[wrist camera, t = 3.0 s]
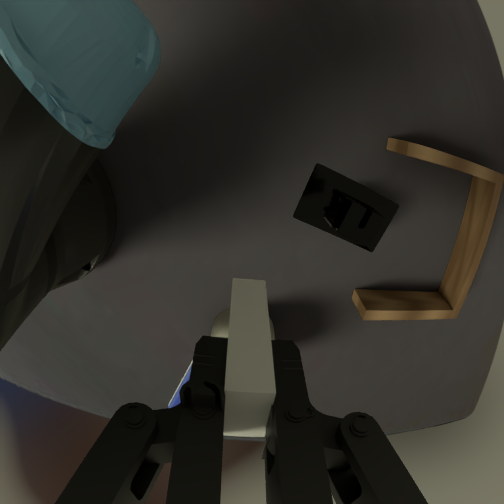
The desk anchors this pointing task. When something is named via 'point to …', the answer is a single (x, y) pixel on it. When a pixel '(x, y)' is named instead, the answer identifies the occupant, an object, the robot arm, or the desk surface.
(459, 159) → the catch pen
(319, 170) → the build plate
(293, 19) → the desk surface
